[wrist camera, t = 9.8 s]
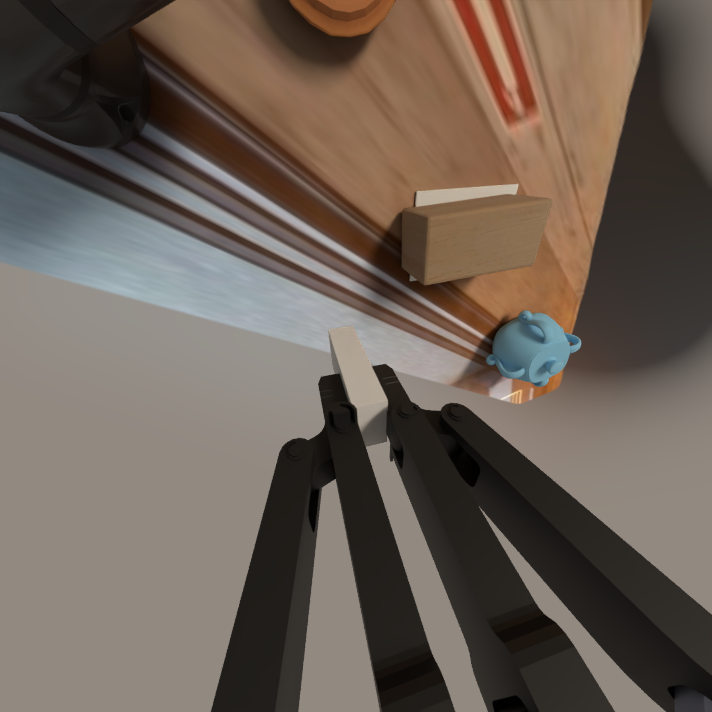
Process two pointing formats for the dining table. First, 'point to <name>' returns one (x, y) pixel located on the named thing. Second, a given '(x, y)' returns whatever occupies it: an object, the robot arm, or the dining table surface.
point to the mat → (460, 196)
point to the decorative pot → (532, 348)
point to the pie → (343, 15)
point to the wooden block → (472, 236)
